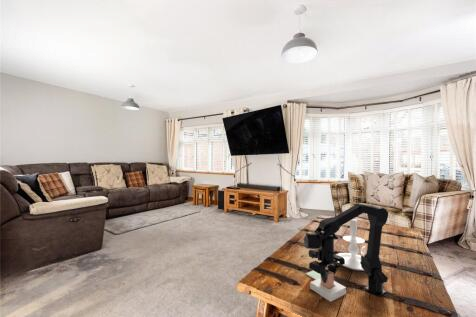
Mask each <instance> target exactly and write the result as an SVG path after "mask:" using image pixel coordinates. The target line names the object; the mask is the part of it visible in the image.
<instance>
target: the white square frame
mask: <svg viewBox="0 0 476 317" xmlns="http://www.w3.org/2000/svg"><path fill="white" fill-rule="evenodd" d="M309 285H310V287H309V288H310V289H311V290H312V291H313V292H314V293H317V294H318V295H320V297H322V298H324V299H326V300H327V301H329V302H330V303H331V302H334V301H335V300H337V299H340V298H341V297H343V296H345V295H347V287H346V286H344V285H342V284H341V283H339V282H337V281H336V280H334V287H333V288H331V289H328V288H326V287H324V286H323V285H321V278H319V279H317V280H315V279H313V281H310V284H309Z"/></svg>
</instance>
